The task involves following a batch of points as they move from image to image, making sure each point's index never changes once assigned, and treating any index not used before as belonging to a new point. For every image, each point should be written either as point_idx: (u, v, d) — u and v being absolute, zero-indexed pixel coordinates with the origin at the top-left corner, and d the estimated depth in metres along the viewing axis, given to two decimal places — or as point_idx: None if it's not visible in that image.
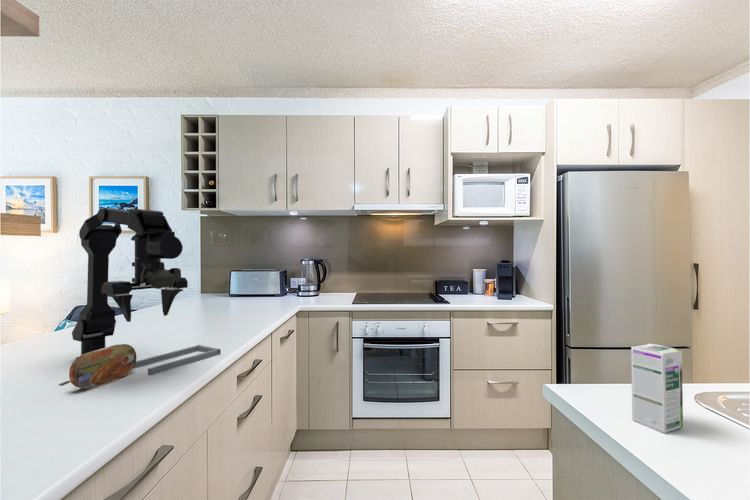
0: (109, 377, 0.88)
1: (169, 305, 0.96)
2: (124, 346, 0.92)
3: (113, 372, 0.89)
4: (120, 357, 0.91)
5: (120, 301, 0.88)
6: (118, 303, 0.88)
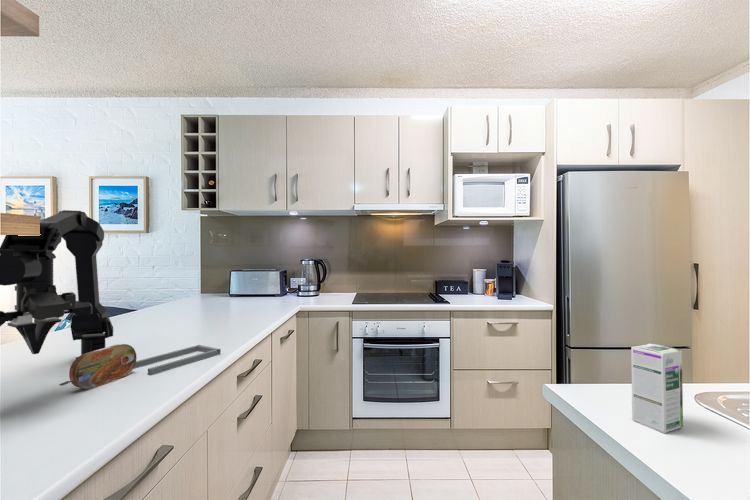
0: (109, 377, 0.88)
1: (41, 340, 0.76)
2: (124, 346, 0.92)
3: (113, 372, 0.89)
4: (120, 357, 0.91)
5: (23, 330, 0.75)
6: (21, 333, 0.75)
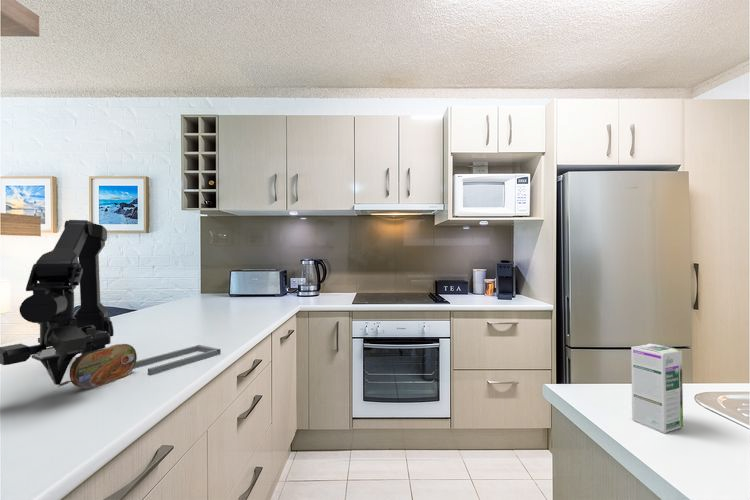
0: (109, 377, 0.88)
1: (63, 371, 0.80)
2: (124, 346, 0.92)
3: (113, 372, 0.89)
4: (120, 357, 0.91)
5: (46, 362, 0.79)
6: (44, 364, 0.79)
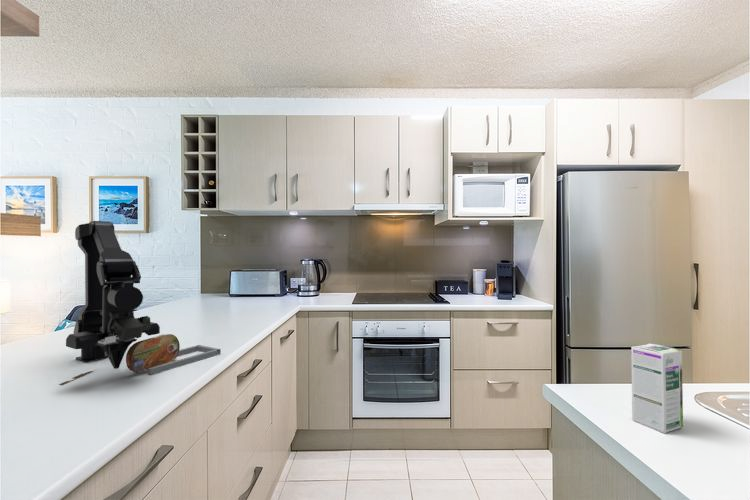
0: (158, 363, 0.98)
1: (121, 357, 0.90)
2: (169, 336, 1.02)
3: (161, 359, 0.99)
4: (166, 346, 1.01)
5: (107, 348, 0.89)
6: (105, 350, 0.89)
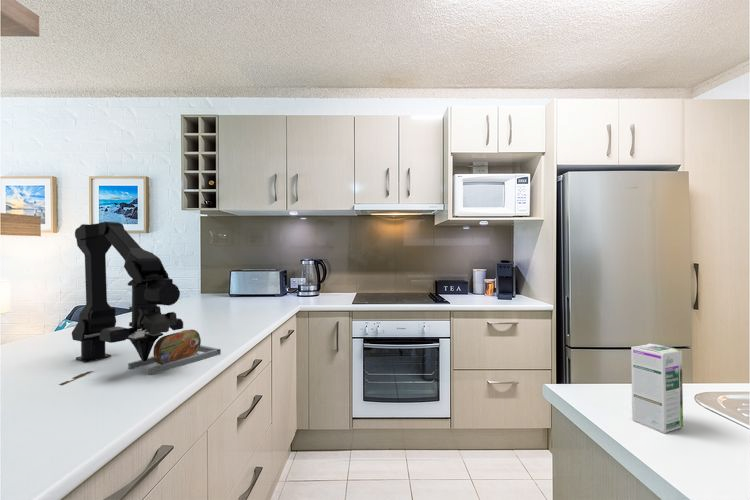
0: (182, 357, 1.04)
1: (149, 350, 0.96)
2: (192, 331, 1.08)
3: (184, 353, 1.05)
4: (189, 340, 1.07)
5: (136, 342, 0.95)
6: (134, 344, 0.95)
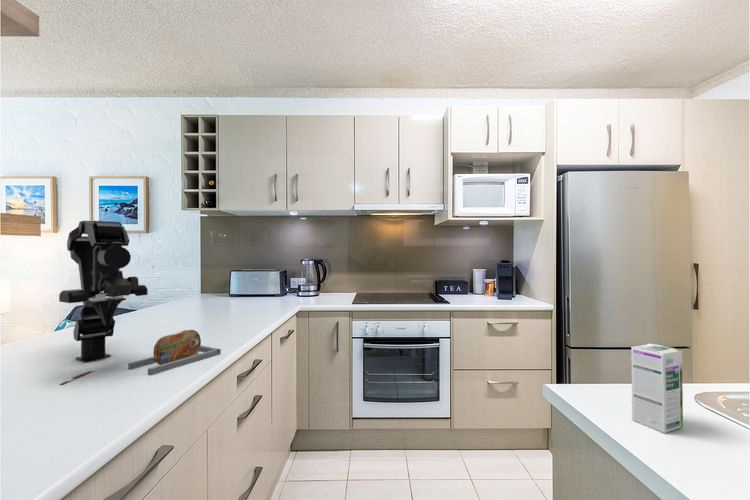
0: (182, 357, 1.04)
1: (111, 314, 0.97)
2: (192, 331, 1.08)
3: (184, 353, 1.05)
4: (189, 341, 1.07)
5: (98, 306, 0.96)
6: (96, 308, 0.96)
